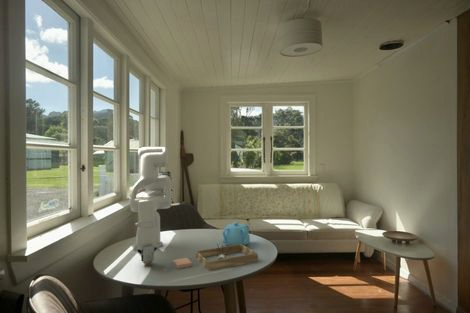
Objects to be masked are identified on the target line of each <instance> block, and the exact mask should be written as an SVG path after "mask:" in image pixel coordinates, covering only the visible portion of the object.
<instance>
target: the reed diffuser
mask: <svg viewBox="0 0 470 313" xmlns="http://www.w3.org/2000/svg"><path fill="white" fill-rule="evenodd" d="M216 245H217V248H219V247H220V246H219V245H218V243H216ZM221 247H222V254H221V253H220V255H219V256H217V257H216V260H221V259H227V256H226V254H225V255H224V254H223V247H224V245H222V244H221ZM219 251H220V250H219Z"/></svg>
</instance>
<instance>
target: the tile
mask: <svg viewBox="0 0 470 313" xmlns="http://www.w3.org/2000/svg"><path fill="white" fill-rule="evenodd" d="M189 259H190V258H188V257H182V258H176V259H173V260H172V262H173V264H174V265H175V266H176V267H177V269H178V268H184V267H189V266H192V262H191V261H190V260H189Z"/></svg>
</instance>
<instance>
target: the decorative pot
mask: <svg viewBox="0 0 470 313" xmlns="http://www.w3.org/2000/svg"><path fill="white" fill-rule="evenodd" d="M249 231H250V226H249V225H247V224H241V223H239V222H238V221H234V222H233V223H231V224H230V223H229V224H226V226H225V227H224V228H223V230H222V240H221V241H222V242H221V243H223V244H225V245H226V246H231V245H237V244H242V245H244V246H245V245H246V246H247V245H249V243H250V240H251V235H250V233H249Z"/></svg>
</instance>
